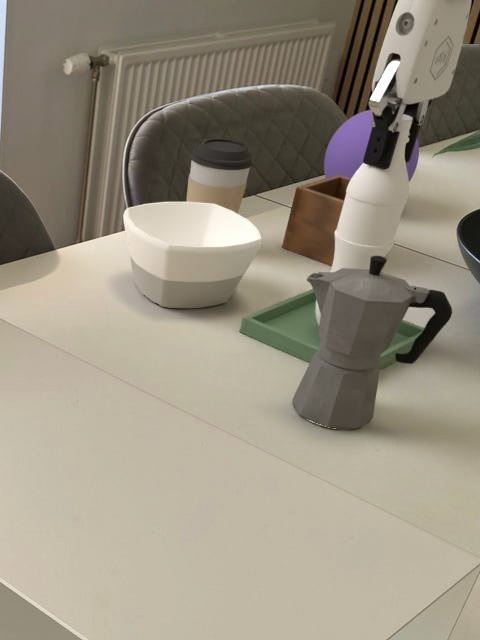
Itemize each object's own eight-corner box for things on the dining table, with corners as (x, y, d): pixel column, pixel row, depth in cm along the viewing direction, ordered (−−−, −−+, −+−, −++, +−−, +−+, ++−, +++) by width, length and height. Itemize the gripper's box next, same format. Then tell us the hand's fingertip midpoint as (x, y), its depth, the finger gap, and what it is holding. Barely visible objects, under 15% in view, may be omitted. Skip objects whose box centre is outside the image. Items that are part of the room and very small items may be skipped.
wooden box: (385, 254, 155) (404, 194, 149) (345, 271, 149) (363, 209, 143) (322, 232, 161) (338, 173, 155) (281, 247, 155) (296, 186, 149)
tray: (427, 345, 131) (432, 330, 129) (354, 382, 121) (359, 367, 120) (314, 300, 140) (318, 286, 139) (239, 331, 131) (242, 317, 129)
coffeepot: (268, 416, 114) (310, 259, 102) (280, 381, 120) (321, 230, 108) (406, 447, 110) (466, 289, 98) (411, 410, 117) (468, 257, 105)
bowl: (97, 271, 143) (106, 203, 137) (207, 263, 148) (220, 197, 142) (148, 323, 131) (160, 251, 125) (266, 313, 136) (283, 243, 129)
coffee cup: (187, 258, 149) (206, 151, 139) (167, 236, 156) (184, 132, 146) (243, 257, 151) (266, 151, 141) (221, 235, 157) (242, 132, 147)
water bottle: (301, 327, 129) (358, 116, 112) (321, 309, 133) (379, 104, 117) (355, 343, 126) (421, 129, 109) (373, 325, 130) (440, 116, 114)
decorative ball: (411, 203, 175) (441, 110, 165) (389, 227, 165) (419, 129, 155) (328, 185, 180) (353, 93, 170) (302, 206, 170) (326, 110, 160)
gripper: (433, -12, 98) (376, 184, 110) (510, -23, 107) (450, 159, 119) (366, -24, 102) (318, 166, 114) (446, -34, 110) (394, 143, 123)
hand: (386, 161), depth 116 cm, fingers closed on water bottle, 3 cm apart
